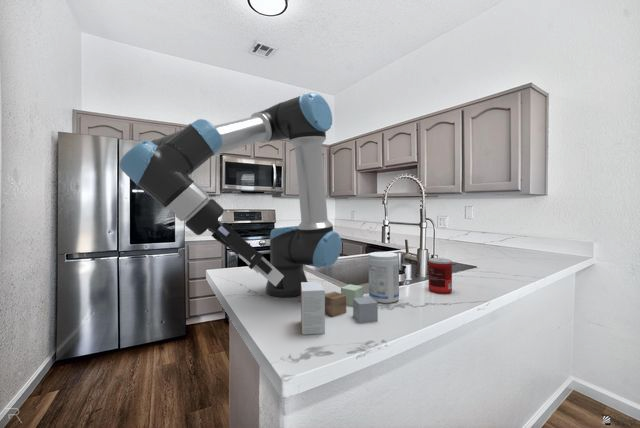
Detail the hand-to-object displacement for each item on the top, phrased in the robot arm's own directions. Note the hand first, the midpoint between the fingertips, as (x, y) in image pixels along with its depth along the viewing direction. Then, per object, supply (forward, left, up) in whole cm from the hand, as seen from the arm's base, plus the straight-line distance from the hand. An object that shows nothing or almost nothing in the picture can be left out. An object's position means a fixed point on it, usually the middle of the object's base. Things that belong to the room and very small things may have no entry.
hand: (269, 274), depth 65 cm
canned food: (-5, +64, -15) cm, 65 cm away
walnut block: (-6, +21, -15) cm, 26 cm away
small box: (0, +11, -15) cm, 18 cm away
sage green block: (-10, +30, -15) cm, 35 cm away
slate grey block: (+2, +26, -15) cm, 30 cm away
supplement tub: (-8, +41, -15) cm, 44 cm away
